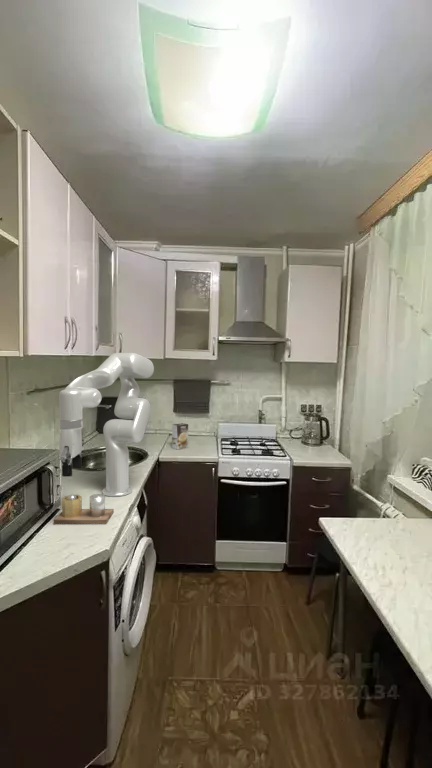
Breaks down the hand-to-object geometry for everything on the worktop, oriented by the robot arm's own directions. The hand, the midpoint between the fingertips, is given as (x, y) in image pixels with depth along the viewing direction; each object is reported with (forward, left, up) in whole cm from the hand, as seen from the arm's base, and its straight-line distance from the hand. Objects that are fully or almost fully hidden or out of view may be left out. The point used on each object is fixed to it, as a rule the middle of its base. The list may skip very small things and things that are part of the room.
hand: (72, 471), depth 132 cm
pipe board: (0, +4, -17) cm, 17 cm away
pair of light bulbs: (0, +5, -15) cm, 16 cm away
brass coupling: (0, 0, -15) cm, 15 cm away
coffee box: (-116, +30, -17) cm, 121 cm away
